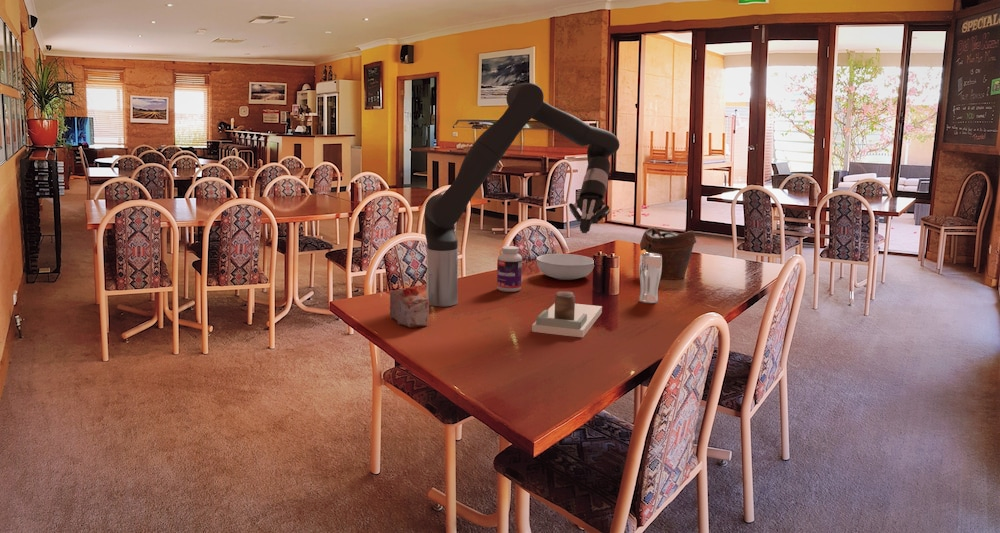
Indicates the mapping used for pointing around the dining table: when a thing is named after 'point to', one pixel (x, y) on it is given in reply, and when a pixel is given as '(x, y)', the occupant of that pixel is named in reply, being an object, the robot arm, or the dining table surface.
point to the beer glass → (650, 276)
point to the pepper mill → (564, 305)
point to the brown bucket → (670, 250)
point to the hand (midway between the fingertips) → (584, 231)
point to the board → (567, 321)
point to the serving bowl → (565, 266)
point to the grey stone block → (409, 308)
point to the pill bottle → (509, 269)
